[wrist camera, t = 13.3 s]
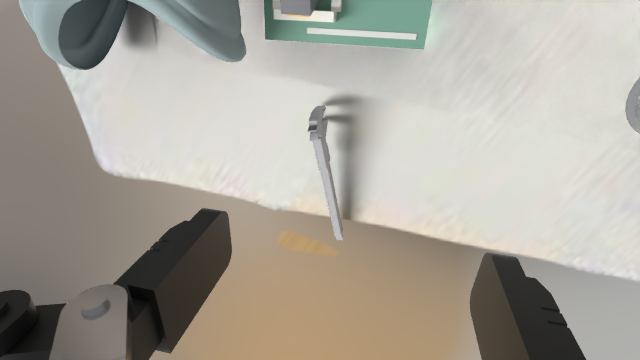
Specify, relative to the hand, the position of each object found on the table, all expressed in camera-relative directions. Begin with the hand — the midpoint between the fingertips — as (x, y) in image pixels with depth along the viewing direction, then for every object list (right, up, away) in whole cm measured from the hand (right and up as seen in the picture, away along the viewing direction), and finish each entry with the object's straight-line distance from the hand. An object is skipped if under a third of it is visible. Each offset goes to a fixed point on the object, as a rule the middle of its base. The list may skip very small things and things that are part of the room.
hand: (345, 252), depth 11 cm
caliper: (+1, +3, +37) cm, 37 cm away
